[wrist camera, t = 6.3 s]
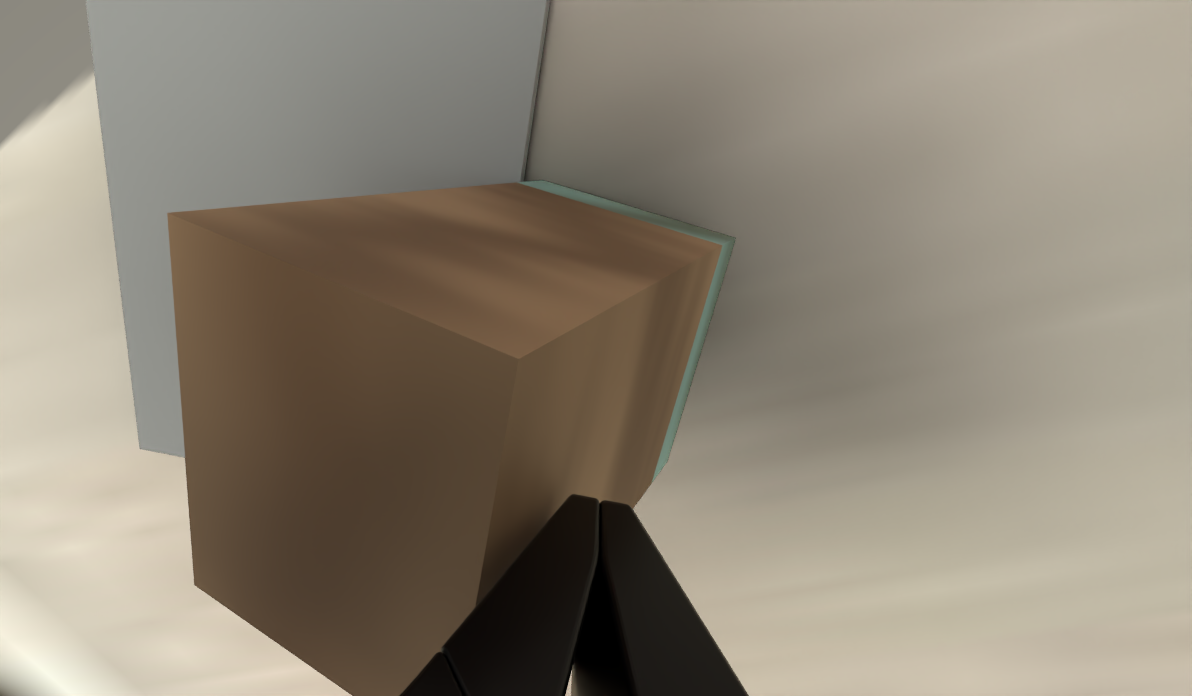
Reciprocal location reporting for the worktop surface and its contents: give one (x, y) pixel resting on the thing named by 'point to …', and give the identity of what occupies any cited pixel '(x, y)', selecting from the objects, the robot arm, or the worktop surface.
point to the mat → (291, 125)
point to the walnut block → (419, 398)
